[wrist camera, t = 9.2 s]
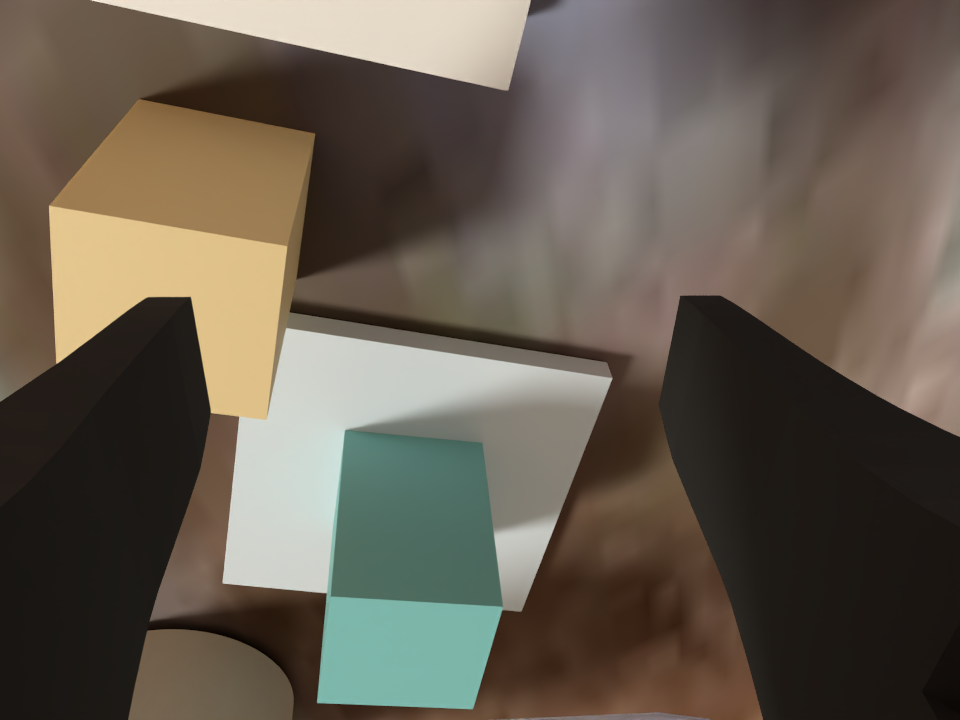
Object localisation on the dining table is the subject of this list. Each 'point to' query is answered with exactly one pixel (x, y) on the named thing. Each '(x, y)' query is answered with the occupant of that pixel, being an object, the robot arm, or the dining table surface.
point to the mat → (410, 412)
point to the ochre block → (188, 239)
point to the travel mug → (207, 680)
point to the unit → (376, 30)
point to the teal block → (410, 574)
